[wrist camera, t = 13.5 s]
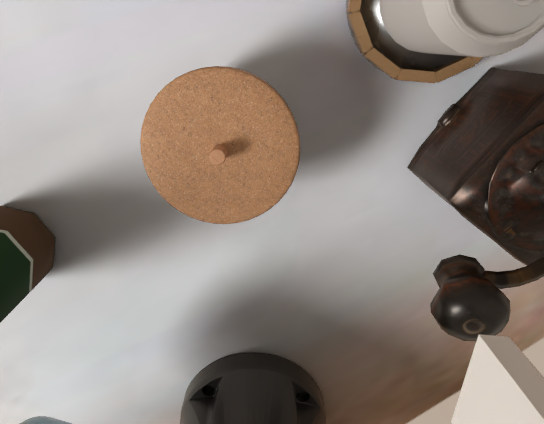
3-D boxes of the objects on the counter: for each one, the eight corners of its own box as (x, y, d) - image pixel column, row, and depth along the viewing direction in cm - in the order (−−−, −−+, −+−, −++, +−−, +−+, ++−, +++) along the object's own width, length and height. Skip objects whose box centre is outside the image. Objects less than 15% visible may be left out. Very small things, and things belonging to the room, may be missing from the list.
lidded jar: (224, 31, 34) (208, 27, 25) (321, 127, 36) (337, 154, 28) (139, 131, 36) (98, 159, 28) (235, 214, 39) (224, 263, 30)
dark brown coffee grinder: (487, 57, 34) (694, 71, 18) (579, 140, 37) (836, 222, 20) (359, 205, 39) (425, 329, 22) (447, 270, 41) (568, 427, 25)
